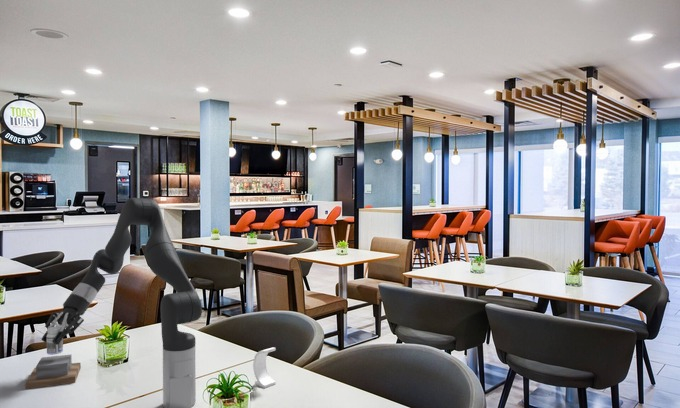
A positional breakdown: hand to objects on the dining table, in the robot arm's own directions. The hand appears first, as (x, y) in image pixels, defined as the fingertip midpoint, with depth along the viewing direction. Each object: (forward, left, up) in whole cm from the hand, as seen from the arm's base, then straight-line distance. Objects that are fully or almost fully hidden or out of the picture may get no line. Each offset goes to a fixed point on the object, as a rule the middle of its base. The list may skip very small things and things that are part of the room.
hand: (49, 342), depth 161 cm
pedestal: (+1, -1, -13) cm, 13 cm away
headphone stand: (-29, -66, -13) cm, 73 cm away
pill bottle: (+1, -1, -4) cm, 5 cm away
